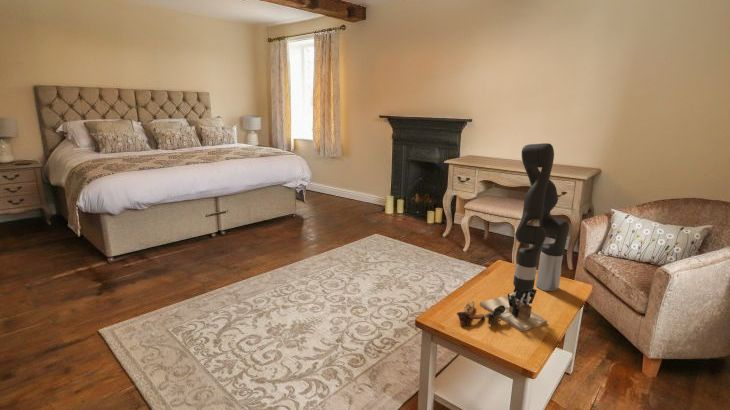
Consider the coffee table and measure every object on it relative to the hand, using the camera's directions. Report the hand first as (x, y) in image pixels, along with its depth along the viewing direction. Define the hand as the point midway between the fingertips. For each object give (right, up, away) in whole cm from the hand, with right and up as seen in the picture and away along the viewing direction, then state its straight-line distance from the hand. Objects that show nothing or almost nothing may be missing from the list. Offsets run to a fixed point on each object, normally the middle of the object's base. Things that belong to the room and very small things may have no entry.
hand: (519, 314), depth 157 cm
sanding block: (0, 0, 0) cm, 0 cm away
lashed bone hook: (-19, -1, 0) cm, 19 cm away
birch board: (-2, -1, +3) cm, 4 cm away
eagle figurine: (-11, -2, -3) cm, 11 cm away
